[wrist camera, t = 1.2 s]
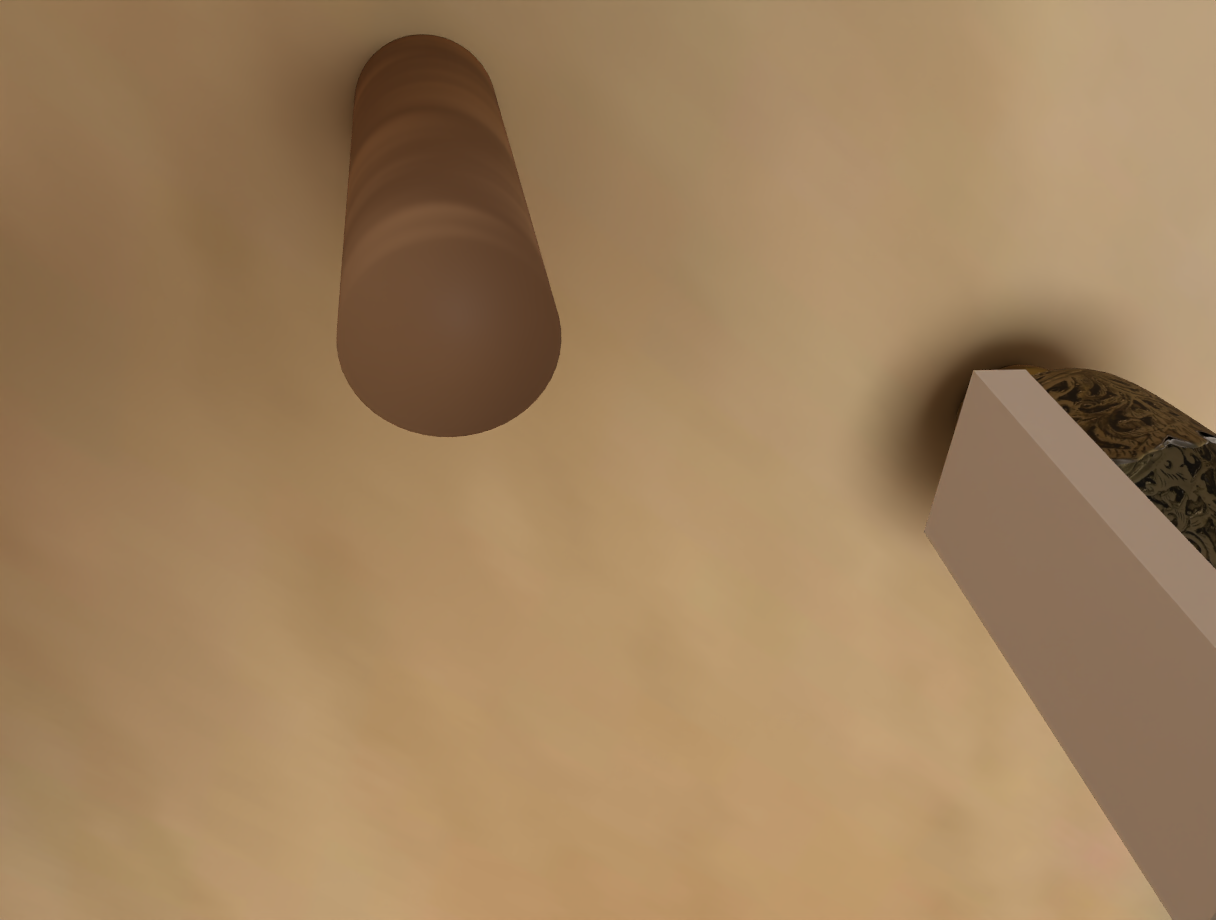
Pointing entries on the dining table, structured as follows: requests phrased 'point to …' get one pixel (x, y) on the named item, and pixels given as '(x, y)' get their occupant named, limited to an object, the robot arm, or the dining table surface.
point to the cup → (1144, 445)
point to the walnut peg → (439, 250)
